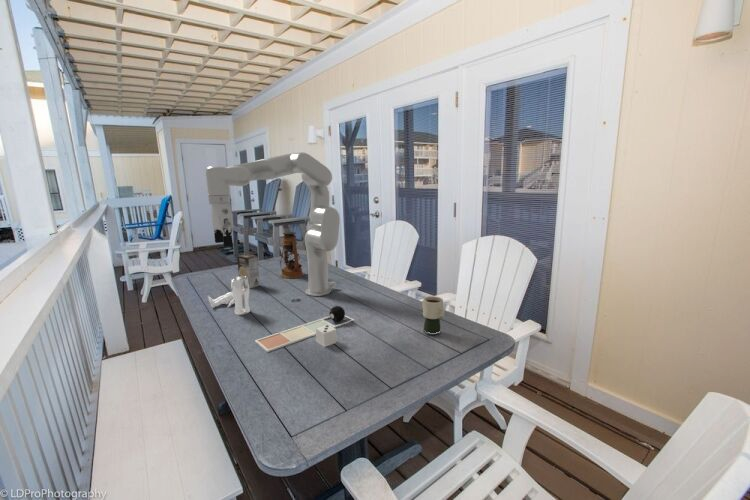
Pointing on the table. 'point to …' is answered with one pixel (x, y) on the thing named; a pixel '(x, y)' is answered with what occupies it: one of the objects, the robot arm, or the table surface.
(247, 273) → the coffee box
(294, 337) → the board
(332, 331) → the die
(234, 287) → the beer glass
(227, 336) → the table surface
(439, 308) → the character mug
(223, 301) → the toy creature
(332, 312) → the billiard ball
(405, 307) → the table surface
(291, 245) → the lantern
